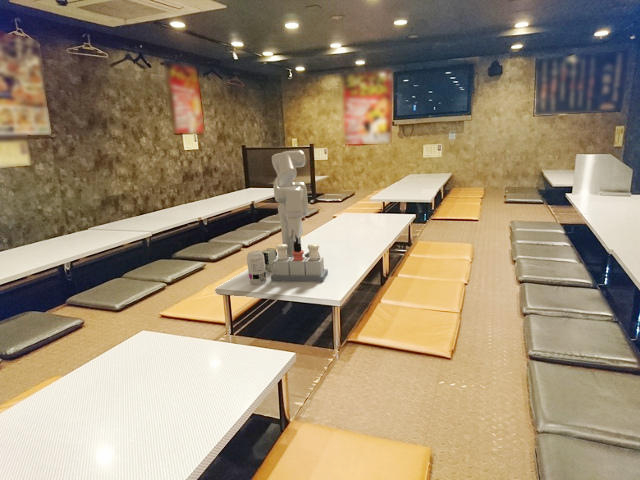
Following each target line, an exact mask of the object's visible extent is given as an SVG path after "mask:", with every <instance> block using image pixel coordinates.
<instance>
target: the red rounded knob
mask: <svg viewBox="0 0 640 480" xmlns="http://www.w3.org/2000/svg"><path fill="white" fill-rule="evenodd" d="M304 252H305V251H304V250H303V249H301V252H294V251H292V254H293V255H294V261H303V257H304V255H305V253H304Z"/></svg>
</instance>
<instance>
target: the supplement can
mask: <svg viewBox="0 0 640 480" xmlns="http://www.w3.org/2000/svg"><path fill="white" fill-rule="evenodd" d="M246 261H247V263H246V264H247V270H248V271H247V272H248V281H249V284H250V285H253V286H258V285H259V286H261V285H263V284H265V283H266V282H267V274H266V273H267V271H265V265H266V264H265V260H264V254H263V253H262V250H261V251H260V250H256V251H255V250H254V251H250V252H248V253H247V255H246Z"/></svg>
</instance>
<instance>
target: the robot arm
mask: <svg viewBox="0 0 640 480" xmlns="http://www.w3.org/2000/svg"><path fill="white" fill-rule="evenodd" d="M306 158H307V157H306V155H305V152H304V151H302V150H287V151H282V152H279V153H275V154H273V155H272V156H271V164H272V167H273V169H274V171H275V172H276V175H277V176H276V178H274V181H273V194H274V199H275V202H277V203H279V205H278V206H277V211H278V217H279V220H280V229H281V241H282V243H281V244H287V246H288V248H286V249H287V257H292V258H293V257H294V255H293V254H292V251H294V252H301V250H302V243H301V242H302V238H301V237H302V236H303V234H304V225H303V220H302V219H303V218H304V217H306V216H308V215H309V202H308V190H307V185H306V183H304V182H303V181H296V182H294V180H295V178H296V177H297V175H298V172H297V168H302V167H304V166H305V165H306V161H307V159H306Z"/></svg>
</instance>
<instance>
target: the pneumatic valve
mask: <svg viewBox="0 0 640 480" xmlns="http://www.w3.org/2000/svg"><path fill="white" fill-rule="evenodd" d="M261 252H262V253H263V254H264V260H265V271H266V272H272V271H274V262H273V261H274V260H275V259H277V258H278V251H277V249H276V248H274V247H273V248H269V247H268V248H265V249H264V250H261Z"/></svg>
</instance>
